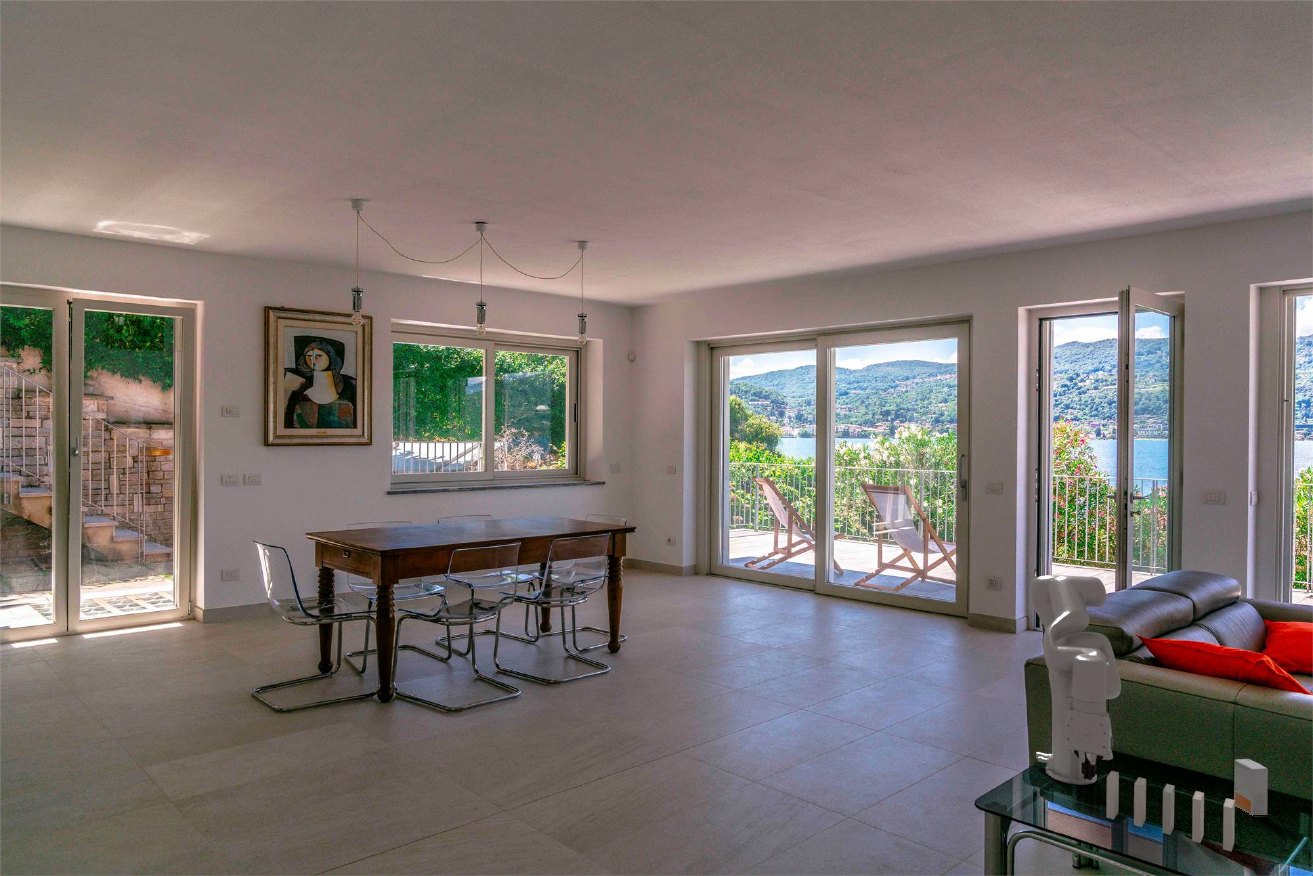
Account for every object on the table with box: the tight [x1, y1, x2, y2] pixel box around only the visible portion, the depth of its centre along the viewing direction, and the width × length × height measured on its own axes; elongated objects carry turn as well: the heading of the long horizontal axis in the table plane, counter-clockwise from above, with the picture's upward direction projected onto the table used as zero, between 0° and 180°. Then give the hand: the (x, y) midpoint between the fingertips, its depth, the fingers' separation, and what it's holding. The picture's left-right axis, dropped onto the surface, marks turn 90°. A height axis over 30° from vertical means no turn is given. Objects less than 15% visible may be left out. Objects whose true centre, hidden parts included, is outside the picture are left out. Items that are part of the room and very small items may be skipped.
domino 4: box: [1191, 790, 1205, 844], centre depth 197 cm, size 2×5×10 cm, turn 140°
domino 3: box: [1162, 783, 1175, 836], centre depth 201 cm, size 2×5×10 cm, turn 140°
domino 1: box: [1105, 770, 1120, 820], centre depth 209 cm, size 2×5×10 cm, turn 140°
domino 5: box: [1222, 798, 1236, 853], centre depth 194 cm, size 2×5×10 cm, turn 140°
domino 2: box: [1133, 776, 1147, 828], centre depth 205 cm, size 2×5×10 cm, turn 140°
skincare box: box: [1233, 758, 1269, 817], centre depth 211 cm, size 6×4×12 cm
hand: (1088, 777), depth 212 cm, fingers closed
